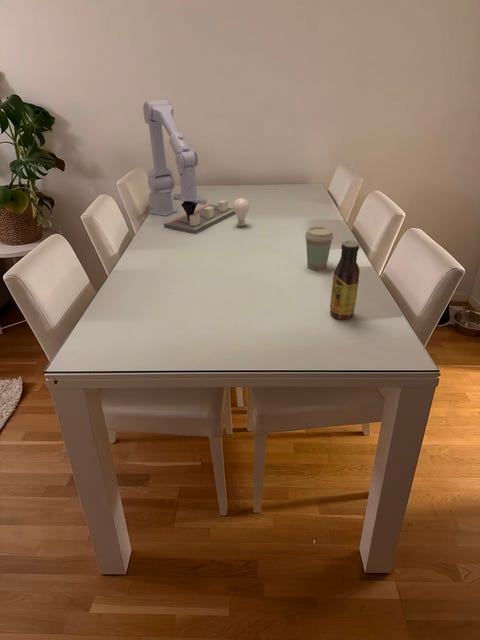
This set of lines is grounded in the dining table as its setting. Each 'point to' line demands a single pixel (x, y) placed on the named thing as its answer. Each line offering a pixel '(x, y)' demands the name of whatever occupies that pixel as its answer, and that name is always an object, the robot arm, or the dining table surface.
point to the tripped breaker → (194, 219)
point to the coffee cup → (318, 247)
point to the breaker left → (223, 206)
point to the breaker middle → (209, 212)
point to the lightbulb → (241, 210)
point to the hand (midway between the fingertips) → (190, 220)
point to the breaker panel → (205, 223)
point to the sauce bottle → (345, 282)
